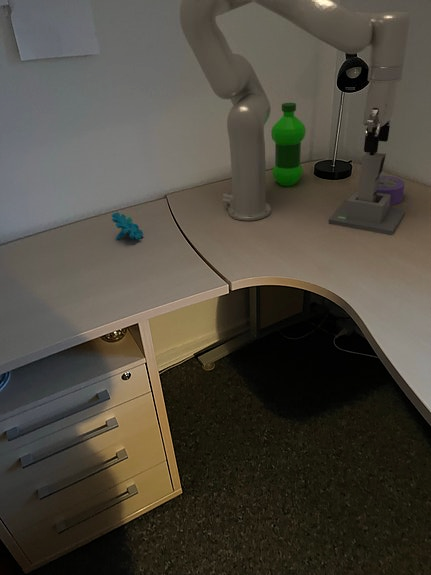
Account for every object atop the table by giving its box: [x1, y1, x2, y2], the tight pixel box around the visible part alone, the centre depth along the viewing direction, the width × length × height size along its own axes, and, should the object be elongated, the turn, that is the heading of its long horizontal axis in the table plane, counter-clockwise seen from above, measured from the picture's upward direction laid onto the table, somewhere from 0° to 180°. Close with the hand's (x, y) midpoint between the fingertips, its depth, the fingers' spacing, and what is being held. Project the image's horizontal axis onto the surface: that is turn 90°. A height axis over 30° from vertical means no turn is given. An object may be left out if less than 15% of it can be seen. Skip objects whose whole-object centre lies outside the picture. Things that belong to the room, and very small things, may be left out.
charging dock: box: [328, 189, 406, 236], centre depth 127 cm, size 17×14×6 cm
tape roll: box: [377, 174, 405, 206], centre depth 139 cm, size 12×12×5 cm
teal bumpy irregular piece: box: [111, 211, 144, 241], centre depth 128 cm, size 11×6×10 cm
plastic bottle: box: [270, 102, 306, 187], centre depth 148 cm, size 10×10×25 cm
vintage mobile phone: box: [357, 127, 387, 203], centre depth 121 cm, size 4×5×25 cm
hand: (375, 146), depth 118 cm, fingers open, 9 cm apart
